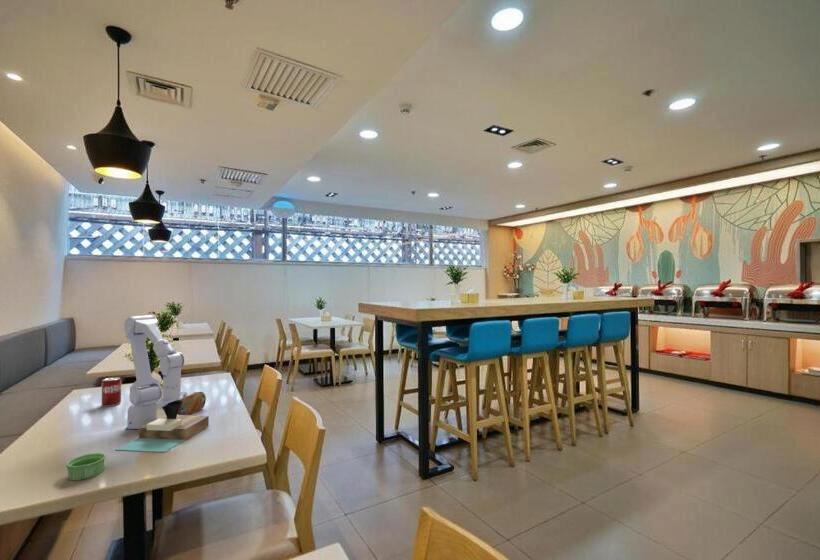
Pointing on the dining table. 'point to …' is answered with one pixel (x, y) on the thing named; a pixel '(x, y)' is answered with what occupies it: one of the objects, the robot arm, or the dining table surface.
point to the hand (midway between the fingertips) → (171, 421)
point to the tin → (192, 403)
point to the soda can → (111, 391)
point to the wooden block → (177, 428)
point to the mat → (150, 445)
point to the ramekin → (86, 466)
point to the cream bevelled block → (164, 424)
